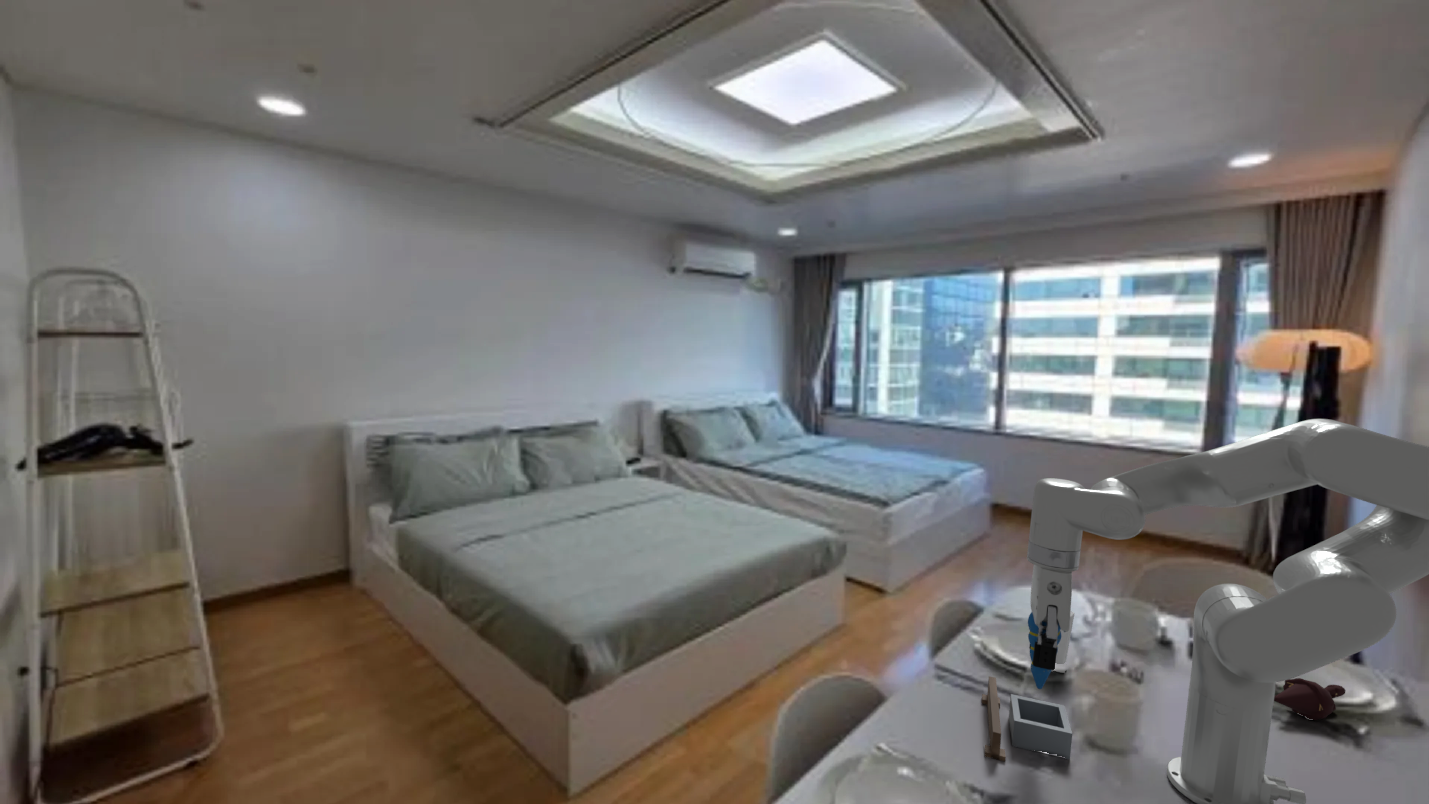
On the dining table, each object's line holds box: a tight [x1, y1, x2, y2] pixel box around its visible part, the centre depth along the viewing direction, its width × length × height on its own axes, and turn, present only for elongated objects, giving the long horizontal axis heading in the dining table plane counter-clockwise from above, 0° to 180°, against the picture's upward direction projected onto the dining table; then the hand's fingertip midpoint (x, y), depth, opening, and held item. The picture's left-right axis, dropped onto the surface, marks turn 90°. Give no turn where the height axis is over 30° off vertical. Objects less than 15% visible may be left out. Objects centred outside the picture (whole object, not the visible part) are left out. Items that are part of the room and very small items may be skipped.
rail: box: [981, 675, 1007, 763], centre depth 108 cm, size 3×18×4 cm, turn 158°
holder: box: [1008, 693, 1073, 761], centre depth 105 cm, size 8×8×4 cm
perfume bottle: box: [1056, 610, 1075, 664], centre depth 127 cm, size 5×4×15 cm
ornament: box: [1027, 611, 1061, 690], centre depth 104 cm, size 5×5×15 cm
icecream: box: [1274, 677, 1346, 721], centre depth 114 cm, size 7×7×15 cm
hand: (1041, 658), depth 104 cm, fingers closed on ornament, 4 cm apart
